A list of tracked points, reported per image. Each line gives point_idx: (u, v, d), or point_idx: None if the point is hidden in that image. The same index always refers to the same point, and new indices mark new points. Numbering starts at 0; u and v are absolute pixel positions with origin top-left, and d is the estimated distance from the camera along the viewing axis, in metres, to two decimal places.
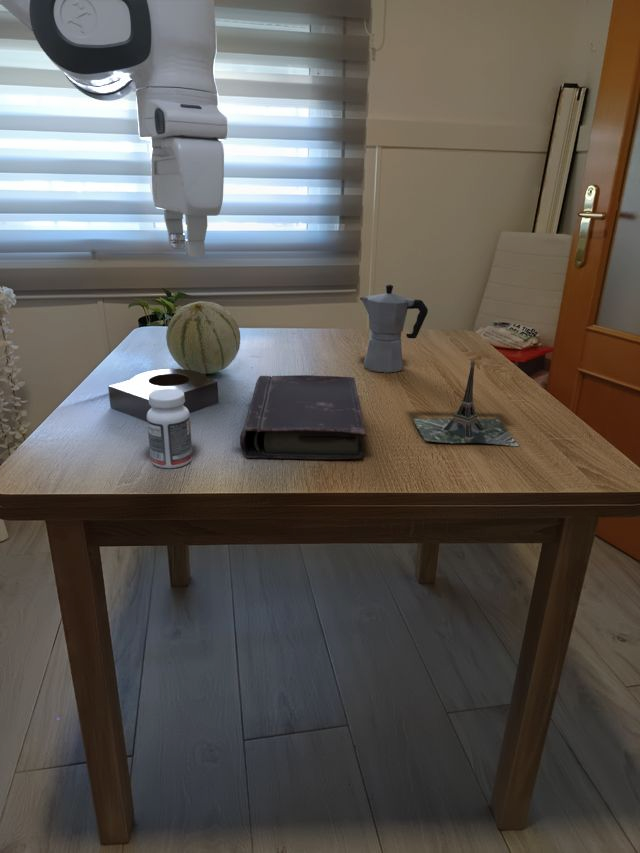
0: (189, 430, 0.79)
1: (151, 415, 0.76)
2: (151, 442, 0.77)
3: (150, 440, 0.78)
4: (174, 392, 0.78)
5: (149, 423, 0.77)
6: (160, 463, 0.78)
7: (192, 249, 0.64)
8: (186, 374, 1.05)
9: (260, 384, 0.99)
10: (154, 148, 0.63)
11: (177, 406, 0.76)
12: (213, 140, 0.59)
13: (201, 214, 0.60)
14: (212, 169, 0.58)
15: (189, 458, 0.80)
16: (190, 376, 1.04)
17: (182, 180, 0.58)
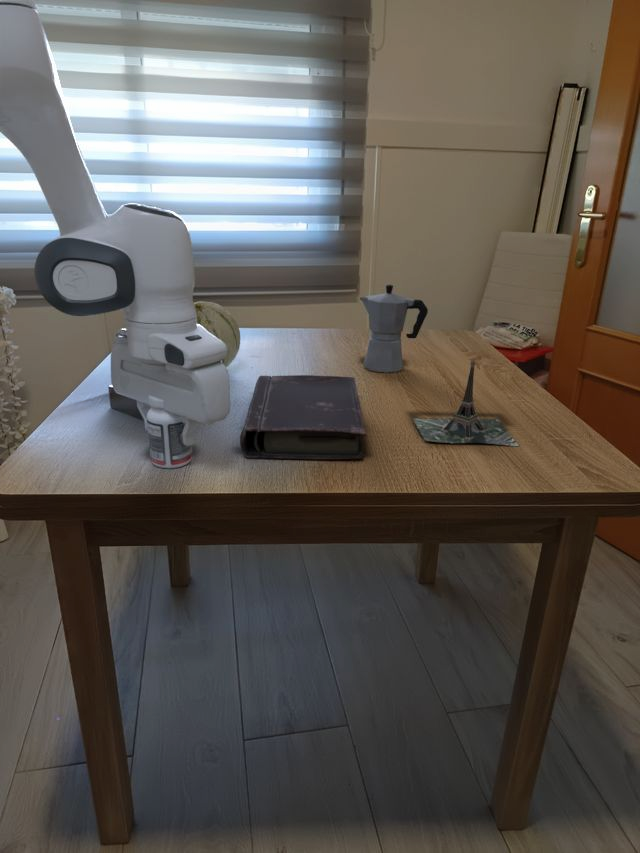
0: None
1: (151, 415, 0.76)
2: (151, 442, 0.77)
3: (150, 440, 0.78)
4: None
5: (149, 423, 0.77)
6: (159, 463, 0.78)
7: (188, 440, 0.76)
8: None
9: (260, 384, 0.99)
10: (149, 364, 0.72)
11: None
12: (217, 363, 0.72)
13: (215, 422, 0.72)
14: (223, 388, 0.71)
15: (189, 458, 0.80)
16: None
17: (204, 402, 0.70)
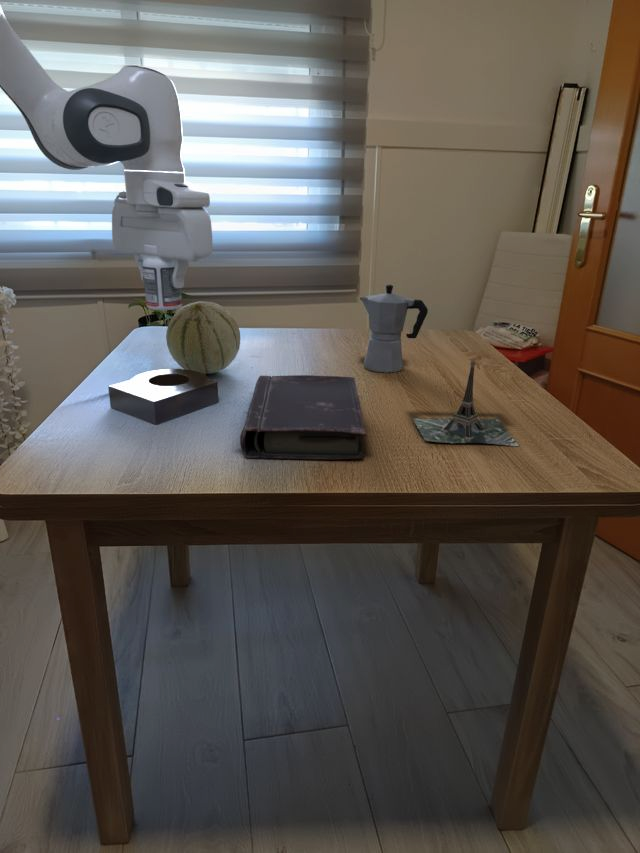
0: None
1: (146, 261, 0.90)
2: (147, 286, 0.91)
3: (145, 285, 0.91)
4: None
5: (144, 268, 0.90)
6: (153, 304, 0.91)
7: (177, 282, 0.90)
8: (186, 374, 1.05)
9: (260, 384, 0.99)
10: (144, 211, 0.86)
11: None
12: (201, 209, 0.85)
13: (200, 260, 0.86)
14: (206, 229, 0.85)
15: (179, 304, 0.93)
16: (190, 376, 1.04)
17: (189, 238, 0.83)
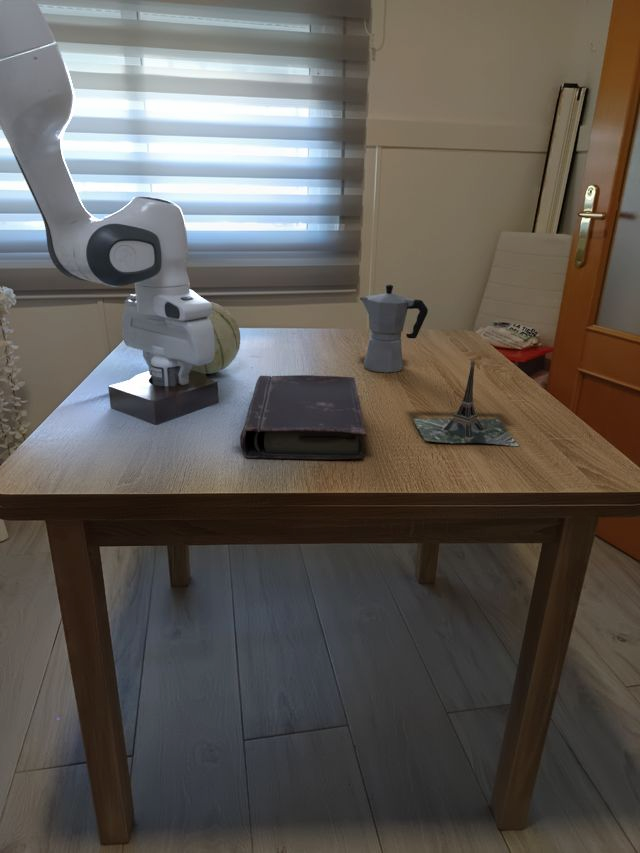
0: None
1: (154, 360, 0.98)
2: (154, 382, 0.99)
3: (153, 381, 1.00)
4: None
5: (153, 367, 0.99)
6: None
7: (182, 380, 0.98)
8: None
9: (260, 384, 0.99)
10: (152, 320, 0.95)
11: None
12: (205, 318, 0.94)
13: (203, 364, 0.94)
14: (209, 337, 0.93)
15: None
16: (190, 376, 1.04)
17: (194, 347, 0.92)
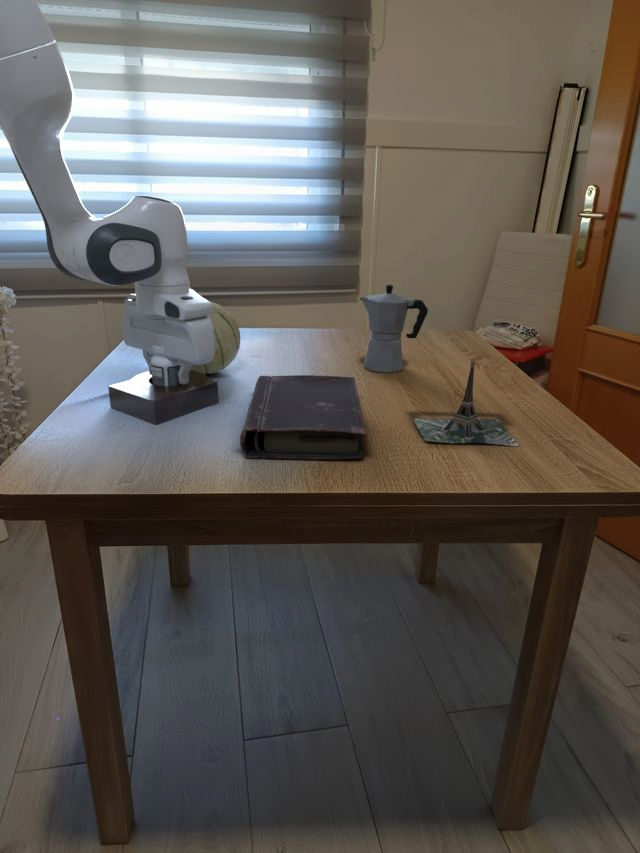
0: None
1: (154, 360, 0.98)
2: (154, 381, 0.99)
3: (153, 380, 1.00)
4: None
5: (153, 366, 0.99)
6: None
7: (182, 379, 0.98)
8: None
9: (260, 384, 0.99)
10: (152, 319, 0.94)
11: None
12: (205, 317, 0.94)
13: (203, 363, 0.94)
14: (209, 336, 0.93)
15: None
16: (190, 376, 1.04)
17: (194, 346, 0.92)
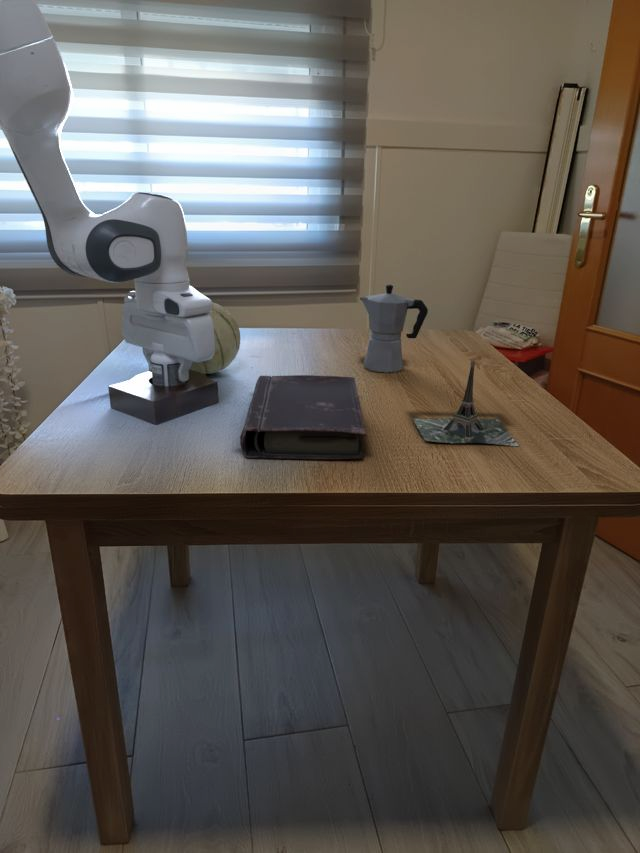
0: None
1: (154, 357, 0.98)
2: (154, 379, 0.99)
3: (153, 377, 0.99)
4: None
5: (152, 364, 0.98)
6: None
7: (182, 377, 0.98)
8: None
9: (260, 384, 0.99)
10: (152, 316, 0.94)
11: None
12: (205, 314, 0.94)
13: (203, 360, 0.94)
14: (209, 333, 0.93)
15: None
16: (190, 376, 1.04)
17: (194, 343, 0.92)
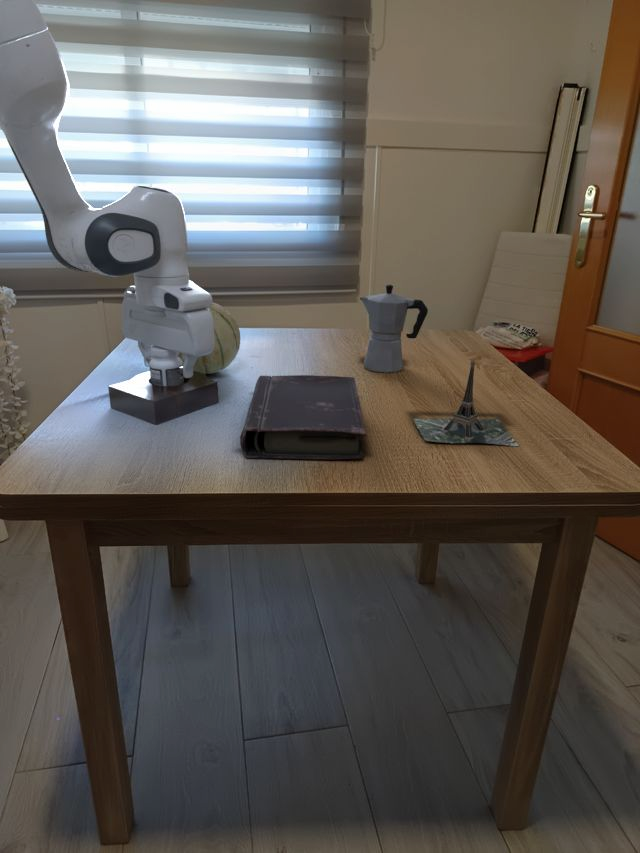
0: None
1: (153, 362, 0.99)
2: (153, 384, 1.00)
3: (152, 383, 1.00)
4: None
5: (151, 369, 0.99)
6: None
7: (187, 373, 0.97)
8: None
9: (260, 384, 0.99)
10: (152, 311, 0.94)
11: (173, 355, 0.99)
12: (204, 309, 0.93)
13: (203, 355, 0.94)
14: (209, 328, 0.93)
15: None
16: None
17: (194, 338, 0.91)
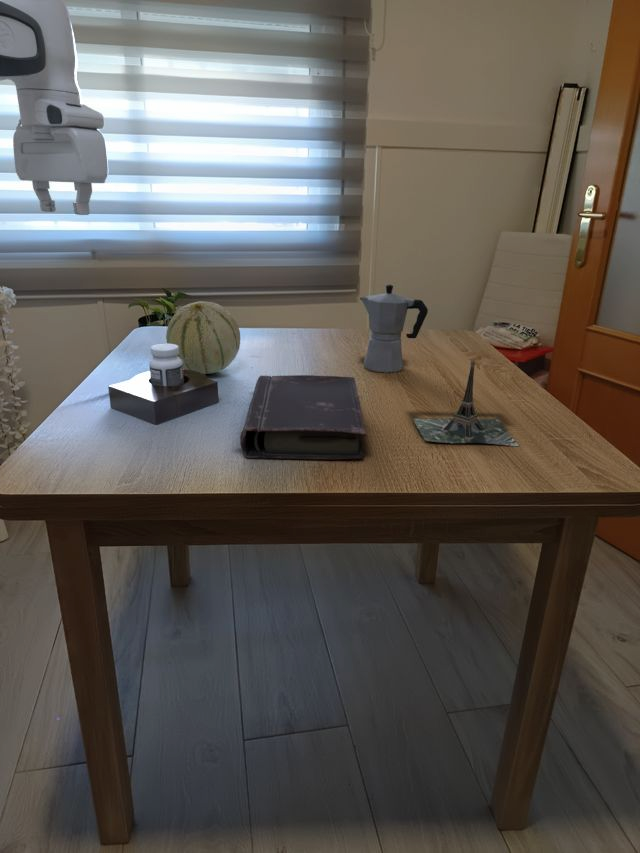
0: (182, 375, 1.01)
1: (153, 362, 0.99)
2: (153, 384, 1.00)
3: (152, 383, 1.00)
4: (170, 345, 1.00)
5: (151, 369, 0.99)
6: None
7: (81, 209, 0.88)
8: (186, 374, 1.05)
9: (260, 384, 0.99)
10: (38, 133, 0.85)
11: (173, 355, 0.99)
12: (95, 130, 0.84)
13: (94, 182, 0.85)
14: (100, 150, 0.84)
15: None
16: (190, 376, 1.04)
17: (81, 157, 0.82)
